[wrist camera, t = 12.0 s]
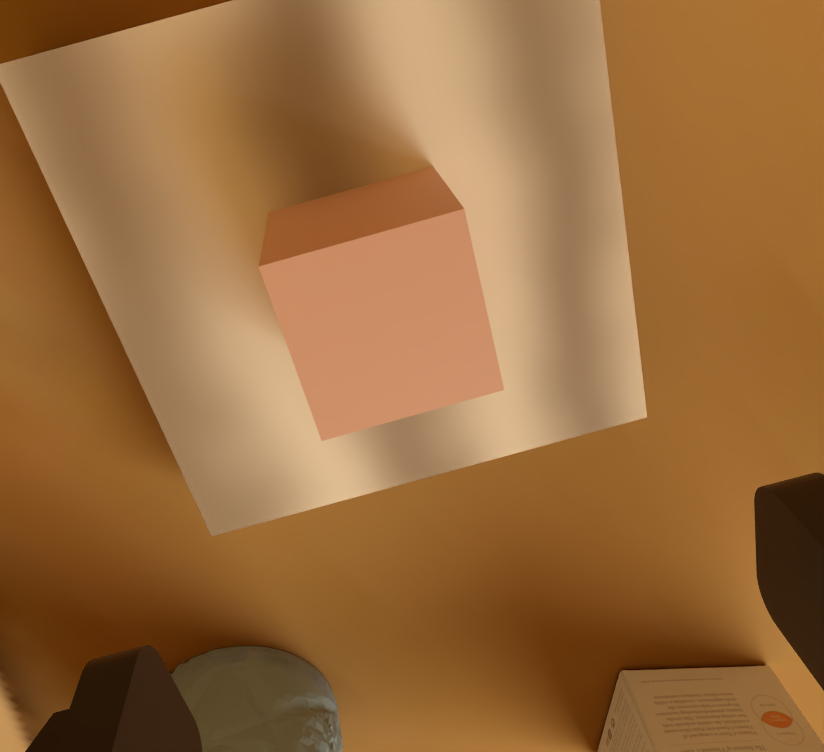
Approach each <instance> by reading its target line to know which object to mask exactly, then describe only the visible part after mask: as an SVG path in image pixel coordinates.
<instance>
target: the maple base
mask: <svg viewBox="0 0 824 752" xmlns="http://www.w3.org/2000/svg"><path fill="white" fill-rule="evenodd" d="M0 83H1V85H2V87H3V89H4V91H5V94H6V96H7V98H8V100H9V102H10V104H11V106H12V109H13V111H14V113H15V115H16V117H17V119H18V122H19V124H20V126H21V128H22V130H23V132H24V134H25V137H26V139H27V141H28V143H29V145H30V147H31V149H32V152H33V154H34V156H35V158H36V160H37V162H38V164H39V167H40V169H41V171H42V173H43V175H44V177H45V180H46V182H47V184H48V186H49V188H50V190H51V192H52V195H53V197H54V199H55V201H56V203H57V205H58V207H59V210H60V212H61V214H62V216H63V218H64V220H65V222H66V225H67V227H68V229H69V231H70V233H71V235H72V238H73V240H74V242H75V244H76V246H77V248H78V250H79V253H80V255H81V257H82V259H83V261H84V263H85V265H86V268H87V270H88V272H89V274H90V276H91V278H92V280H93V283H94V285H95V287H96V289H97V291H98V293H99V296H100V298H101V300H102V302H103V304H104V306H105V308H106V311H107V313H108V315H109V317H110V319H111V321H112V323H113V326H114V328H115V330H116V332H117V334H118V336H119V338H120V341H121V343H122V345H123V347H124V349H125V351H126V354H127V356H128V358H129V360H130V362H131V364H132V366H133V369H134V371H135V373H136V375H137V377H138V379H139V381H140V384H141V386H142V388H143V390H144V392H145V394H146V396H147V399H148V401H149V403H150V405H151V407H152V409H153V412H154V414H155V416H156V418H157V420H158V422H159V424H160V427H161V429H162V431H163V433H164V435H165V437H166V439H167V442H168V444H169V446H170V448H171V450H172V452H173V454H174V457H175V459H176V461H177V463H178V465H179V467H180V470H181V472H182V474H183V476H184V478H185V480H186V482H187V485H188V487H189V489H190V491H191V493H192V495H193V497H194V500H195V502H196V504H197V506H198V508H199V510H200V512H201V515H202V517H203V519H204V521H205V523H206V525H207V528H208V530H209V532H210V534H211V536H215V535H219V534H222V533H226V532H230V531H233V530H237V529H241V528H244V527H248V526H252V525H255V524H259V523H263V522H266V521H270V520H274V519H277V518H281V517H285V516H288V515H292V514H295V513H299V512H303V511H306V510H310V509H314V508H317V507H321V506H325V505H328V504H332V503H336V502H339V501H343V500H347V499H350V498H354V497H358V496H361V495H365V494H369V493H372V492H376V491H380V490H383V489H387V488H391V487H394V486H398V485H401V484H405V483H409V482H412V481H416V480H420V479H423V478H427V477H431V476H434V475H438V474H442V473H445V472H449V471H453V470H456V469H460V468H464V467H467V466H471V465H475V464H478V463H482V462H486V461H489V460H493V459H497V458H500V457H504V456H508V455H511V454H515V453H518V452H522V451H526V450H529V449H533V448H537V447H540V446H544V445H548V444H551V443H555V442H559V441H562V440H566V439H570V438H573V437H577V436H581V435H584V434H588V433H592V432H595V431H599V430H603V429H606V428H610V427H614V426H617V425H621V424H625V423H628V422H632V421H635V420H639V419H643V418H646V417H647V411H646V402H645V393H644V385H643V376H642V367H641V358H640V350H639V341H638V332H637V323H636V315H635V306H634V297H633V288H632V280H631V271H630V262H629V253H628V244H627V236H626V227H625V218H624V209H623V201H622V192H621V183H620V174H619V166H618V157H617V148H616V139H615V131H614V122H613V113H612V104H611V96H610V87H609V78H608V69H607V60H606V52H605V43H604V34H603V25H602V17H601V8H600V0H232V1H228V2H224V3H221V4H217V5H213V6H210V7H206V8H202V9H199V10H195V11H192V12H188V13H184V14H181V15H177V16H173V17H170V18H166V19H162V20H159V21H155V22H151V23H148V24H144V25H141V26H137V27H133V28H130V29H126V30H122V31H119V32H115V33H111V34H108V35H104V36H100V37H97V38H93V39H89V40H86V41H82V42H79V43H75V44H71V45H68V46H64V47H60V48H57V49H53V50H49V51H46V52H42V53H38V54H35V55H31V56H28V57H24V58H20V59H17V60H13V61H9V62H6V63H2V64H0ZM432 166H434V168H435V169H436V170H437V172H438V173H439V175H440V176H441V177H442V179H443V180H444V182H445V183H446V184H447V186H448V187H449V188H450V190H451V191H452V193H453V194H454V195H455V197H456V198H457V199H458V201H459V202H460V204H461V205H462V206H463V208H464V210H465V214H466V219H467V223H468V228H469V232H470V237H471V241H472V246H473V251H474V255H475V260H476V264H477V269H478V273H479V278H480V282H481V287H482V291H483V296H484V300H485V305H486V309H487V314H488V319H489V323H490V328H491V332H492V337H493V341H494V346H495V350H496V355H497V359H498V364H499V368H500V373H501V377H502V382H503V386H504V390H502V391H499V392H495V393H492V394H488V395H484V396H481V397H477V398H474V399H470V400H467V401H463V402H459V403H456V404H452V405H449V406H445V407H442V408H438V409H434V410H431V411H427V412H424V413H420V414H417V415H413V416H409V417H406V418H402V419H399V420H395V421H392V422H388V423H385V424H381V425H377V426H374V427H370V428H367V429H363V430H360V431H356V432H352V433H349V434H345V435H342V436H338V437H335V438H331V439H327V440H324V441H321V438H320V435H319V432H318V429H317V427H316V424H315V421H314V418H313V416H312V413H311V410H310V407H309V405H308V402H307V399H306V396H305V394H304V391H303V388H302V385H301V383H300V380H299V377H298V374H297V371H296V369H295V366H294V363H293V360H292V358H291V355H290V352H289V349H288V347H287V344H286V341H285V338H284V336H283V333H282V330H281V327H280V325H279V322H278V319H277V316H276V313H275V311H274V308H273V305H272V302H271V300H270V297H269V294H268V291H267V289H266V286H265V283H264V280H263V278H262V275H261V272H260V269H259V261H260V256H261V250H262V245H263V239H264V234H265V229H266V223H267V218H268V213H269V212H272V211H276V210H279V209H283V208H287V207H290V206H294V205H297V204H301V203H304V202H308V201H311V200H315V199H318V198H322V197H326V196H329V195H333V194H336V193H340V192H343V191H347V190H350V189H354V188H358V187H361V186H365V185H368V184H372V183H375V182H379V181H382V180H386V179H390V178H393V177H397V176H400V175H404V174H407V173H411V172H414V171H418V170H421V169H425V168H429V167H432Z"/></svg>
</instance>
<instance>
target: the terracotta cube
mask: <svg viewBox="0 0 824 752" xmlns="http://www.w3.org/2000/svg"><path fill="white" fill-rule="evenodd" d="M259 269H260V272H261V275H262V278H263V280H264V283H265V286H266V289H267V291H268V294H269V297H270V300H271V302H272V305H273V308H274V311H275V313H276V316H277V319H278V322H279V325H280V327H281V330H282V333H283V336H284V338H285V341H286V344H287V347H288V349H289V352H290V355H291V358H292V360H293V363H294V366H295V369H296V371H297V374H298V377H299V380H300V383H301V385H302V388H303V391H304V394H305V396H306V399H307V402H308V405H309V407H310V410H311V413H312V416H313V418H314V421H315V424H316V427H317V429H318V432H319V435H320V438H321V441H324V440H327V439H331V438H335V437H338V436H342V435H345V434H349V433H352V432H356V431H360V430H363V429H367V428H370V427H374V426H377V425H381V424H385V423H388V422H392V421H395V420H399V419H402V418H406V417H409V416H413V415H417V414H420V413H424V412H427V411H431V410H434V409H438V408H442V407H445V406H449V405H452V404H456V403H459V402H463V401H467V400H470V399H474V398H477V397H481V396H484V395H488V394H492V393H495V392H499V391H502V390H504V386H503V382H502V377H501V373H500V368H499V364H498V359H497V355H496V350H495V346H494V341H493V337H492V332H491V328H490V323H489V319H488V314H487V309H486V305H485V300H484V296H483V291H482V287H481V282H480V278H479V273H478V269H477V264H476V260H475V255H474V251H473V246H472V241H471V237H470V232H469V228H468V223H467V219H466V214H465V210H464V208H463V206H462V205H461V204H460V202H459V201H458V199H457V198H456V197H455V195H454V194H453V193H452V191H451V190H450V188H449V187H448V186H447V184H446V183H445V182H444V180H443V179H442V177H441V176H440V175H439V173H438V172H437V170H436V169H435V168H434V166H432V167H429V168H425V169H421V170H418V171H414V172H411V173H407V174H404V175H400V176H397V177H393V178H390V179H386V180H382V181H379V182H375V183H372V184H368V185H365V186H361V187H358V188H354V189H350V190H347V191H343V192H340V193H336V194H333V195H329V196H326V197H322V198H318V199H315V200H311V201H308V202H304V203H301V204H297V205H294V206H290V207H287V208H283V209H279V210H276V211H272V212H269V213H268V218H267V223H266V229H265V234H264V239H263V245H262V250H261V256H260V261H259Z"/></svg>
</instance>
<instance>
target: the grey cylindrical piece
mask: <svg viewBox="0 0 824 752" xmlns="http://www.w3.org/2000/svg"><path fill="white" fill-rule="evenodd" d="M170 675H171V677H172V679H173V681H174V682H175V684H176V686H177V688H178V690H179V691H180V693H181V695H182V697H183V699H184V701H185V702H186V704H187V706H188V708H189V710H190V712H191V713H192V715H193V717H194V719H195V721H196V724H197V726H198V730H199V733H200V738H201V744H202V752H342V748H343V745H342V737H341V730H340V724H339V717H338V710H337V704H336V701H335V698H334V695H333V692H332V690H331V688H330V685H329V683H328V682H327V681H326V679H325V678H324V677H323V675H322V674H321V673H320V672H319V671H318V670H317V669H316V668H315V667H314V666H312V665H311V664H309V663H308V662H306V661H305V660H303V659H301V658H299V657H297V656H295V655H292V654H290V653H287V652H284V651H281V650H277V649H272V648H267V647H257V646H238V647H229V648H221V649H214V650H212V651H209V652H207V653H204V654H202V655H199V656H197V657H194V658H192V659H190V660H189V661H188V662H186V663H181V664H180V665H178V666H177V667H176V668H175V670H174V673H172V674H170Z"/></svg>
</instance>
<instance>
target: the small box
mask: <svg viewBox="0 0 824 752" xmlns="http://www.w3.org/2000/svg"><path fill="white" fill-rule="evenodd" d="M597 752H824V745H823V743H822V742H821V740H820V739H819V737H818V736H817V734H816V733H815V731H814V730H813V729H812V727H811V726H810V724H809V723H808V721H807V720H806V718H805V717H804V716H803V714H802V713H801V711H800V710H799V708H798V707H797V705H796V704H795V702H794V701H793V700H792V698H791V697H790V695H789V694H788V692H787V691H786V689H785V688H784V687H783V685H782V684H781V682H780V681H779V679H778V678H777V676H776V675H775V674H774V672H773V671H772V669H771V668H770V667H769V666H767V665H765V666H745V667H716V668H685V669H656V670H622V671H621V672H620V673H619V677H618V680H617V683H616V687H615V690H614V694H613V697H612V701H611V704H610V708H609V711H608V715H607V718H606V722H605V726H604V729H603V733H602V737H601V740H600V744H599V748H598V751H597Z"/></svg>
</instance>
